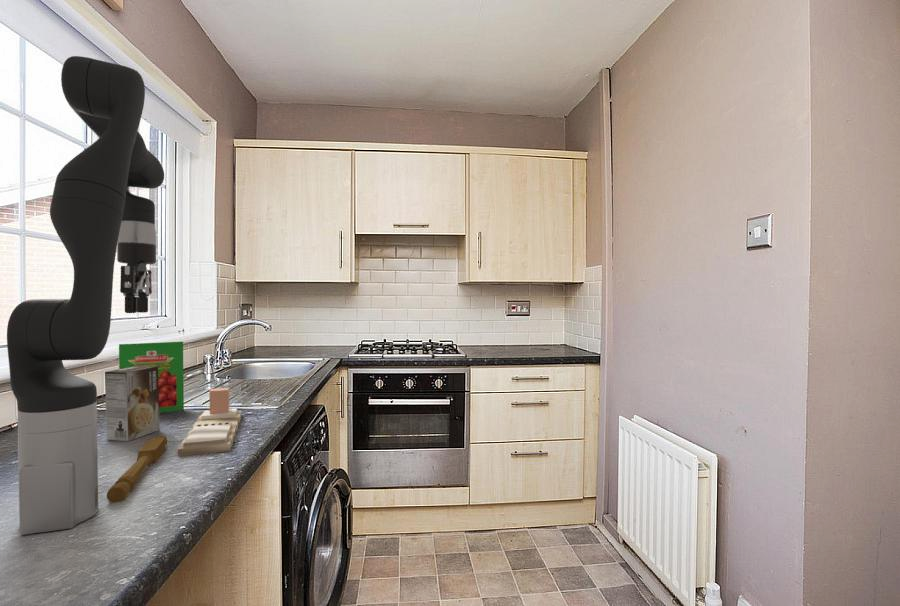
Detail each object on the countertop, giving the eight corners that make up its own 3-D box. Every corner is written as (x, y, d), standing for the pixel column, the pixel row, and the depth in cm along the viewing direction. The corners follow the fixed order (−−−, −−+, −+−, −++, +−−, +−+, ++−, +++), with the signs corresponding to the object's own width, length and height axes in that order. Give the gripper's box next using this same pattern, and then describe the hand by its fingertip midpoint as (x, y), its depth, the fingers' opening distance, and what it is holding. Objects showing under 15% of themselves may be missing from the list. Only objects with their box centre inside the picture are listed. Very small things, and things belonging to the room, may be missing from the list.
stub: (235, 417, 124) (235, 390, 124) (201, 420, 121) (200, 392, 121) (237, 411, 129) (237, 386, 129) (204, 414, 127) (204, 388, 126)
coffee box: (138, 428, 118) (137, 365, 118) (160, 430, 117) (159, 366, 117) (105, 440, 109) (104, 371, 109) (128, 441, 108) (127, 372, 108)
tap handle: (105, 487, 77) (153, 433, 105) (105, 505, 77) (153, 447, 105) (127, 484, 78) (169, 432, 106) (127, 503, 78) (169, 446, 106)
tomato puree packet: (119, 417, 129) (118, 344, 129) (120, 416, 130) (119, 344, 130) (183, 410, 137) (183, 341, 137) (183, 409, 138) (183, 341, 138)
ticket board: (230, 450, 102) (229, 438, 102) (177, 456, 99) (177, 443, 99) (241, 416, 130) (241, 406, 130) (201, 419, 127) (200, 409, 127)
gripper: (146, 239, 104) (146, 313, 104) (163, 246, 117) (163, 312, 117) (106, 238, 101) (106, 313, 101) (128, 245, 115) (128, 312, 115)
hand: (136, 312), depth 109 cm, fingers open, 8 cm apart
